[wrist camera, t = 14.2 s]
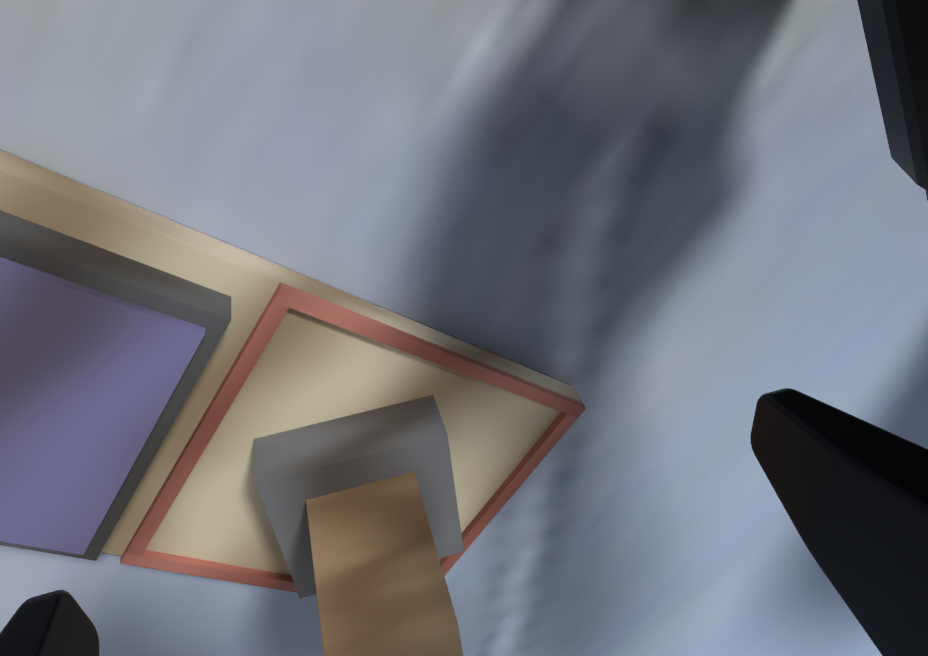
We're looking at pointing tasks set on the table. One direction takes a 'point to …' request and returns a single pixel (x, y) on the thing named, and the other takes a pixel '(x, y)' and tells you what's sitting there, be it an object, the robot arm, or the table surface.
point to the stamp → (368, 526)
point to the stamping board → (209, 386)
